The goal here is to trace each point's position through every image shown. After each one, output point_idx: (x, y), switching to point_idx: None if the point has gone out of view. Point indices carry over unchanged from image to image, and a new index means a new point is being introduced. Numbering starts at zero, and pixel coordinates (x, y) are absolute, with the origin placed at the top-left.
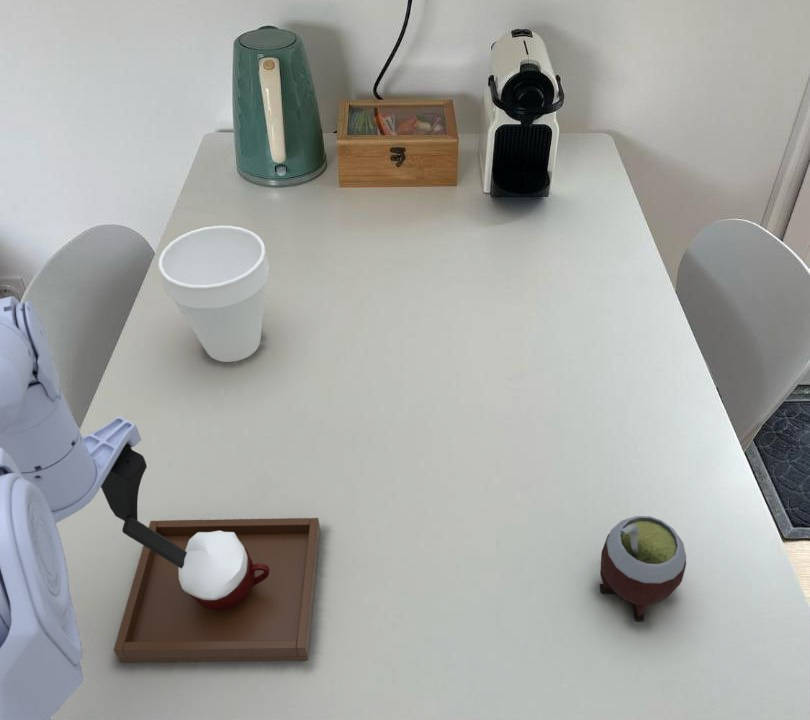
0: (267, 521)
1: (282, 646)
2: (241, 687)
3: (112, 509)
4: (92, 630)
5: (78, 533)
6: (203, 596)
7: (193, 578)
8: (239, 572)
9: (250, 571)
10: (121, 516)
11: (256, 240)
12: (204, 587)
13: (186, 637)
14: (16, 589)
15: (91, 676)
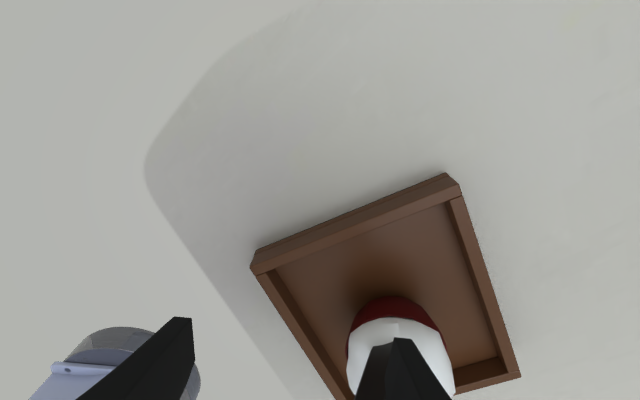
0: (501, 331)
1: None
2: (297, 364)
3: (399, 358)
4: (271, 192)
5: (405, 43)
6: (347, 374)
7: (362, 370)
8: None
9: None
10: (392, 368)
11: None
12: (355, 386)
13: (315, 305)
14: None
15: (224, 231)
